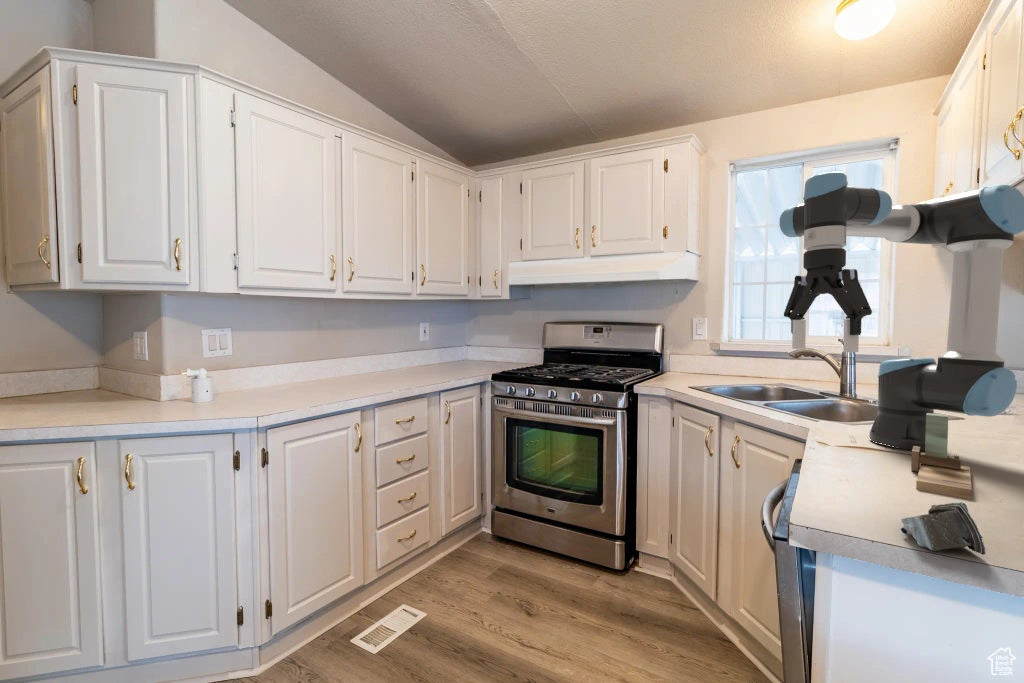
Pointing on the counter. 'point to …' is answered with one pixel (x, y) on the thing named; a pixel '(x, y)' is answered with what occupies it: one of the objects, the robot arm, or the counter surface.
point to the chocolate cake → (945, 528)
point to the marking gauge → (935, 445)
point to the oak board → (945, 480)
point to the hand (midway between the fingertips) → (823, 350)
